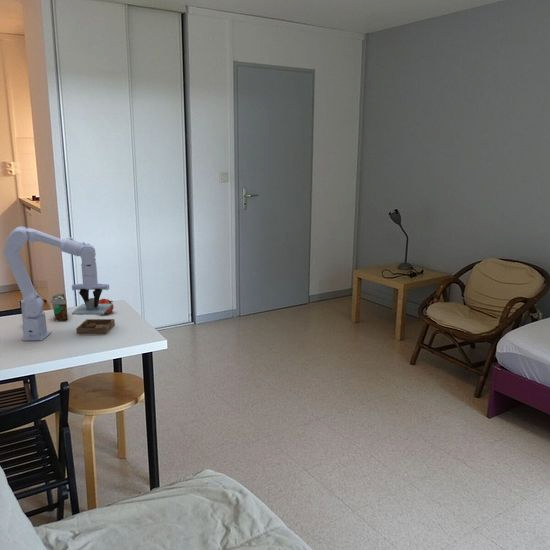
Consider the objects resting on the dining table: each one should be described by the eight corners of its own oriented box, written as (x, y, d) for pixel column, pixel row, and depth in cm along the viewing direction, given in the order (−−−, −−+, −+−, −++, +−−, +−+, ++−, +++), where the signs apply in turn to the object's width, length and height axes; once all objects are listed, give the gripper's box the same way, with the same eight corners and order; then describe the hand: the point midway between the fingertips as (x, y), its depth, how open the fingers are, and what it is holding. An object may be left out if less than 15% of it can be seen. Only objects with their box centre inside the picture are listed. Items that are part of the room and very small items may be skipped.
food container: (51, 315, 239) (49, 294, 237) (66, 313, 242) (64, 292, 240) (52, 323, 228) (50, 301, 226) (68, 321, 231) (66, 299, 229)
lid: (103, 315, 211) (102, 304, 210) (72, 315, 211) (71, 304, 210) (112, 306, 224) (111, 295, 222) (82, 306, 223) (81, 295, 222)
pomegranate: (95, 320, 240) (109, 309, 236) (88, 306, 241) (101, 295, 237) (107, 317, 246) (120, 306, 242) (99, 304, 247) (113, 293, 243)
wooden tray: (106, 334, 215) (105, 328, 214) (76, 334, 215) (76, 328, 214) (114, 324, 227) (114, 319, 226) (86, 324, 227) (86, 319, 226)
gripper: (110, 272, 218) (112, 303, 221) (75, 272, 218) (77, 303, 221) (105, 276, 211) (107, 308, 214) (68, 276, 211) (71, 308, 214)
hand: (92, 306), depth 217 cm, fingers closed on lid, 3 cm apart
